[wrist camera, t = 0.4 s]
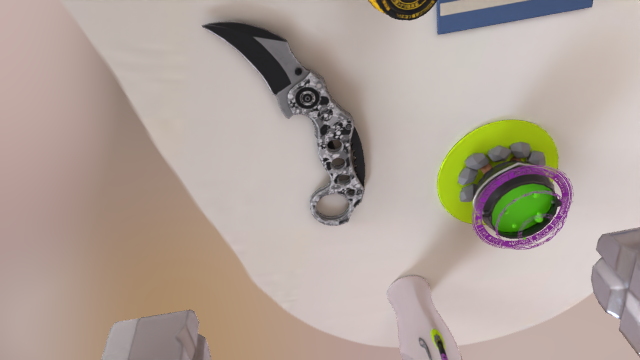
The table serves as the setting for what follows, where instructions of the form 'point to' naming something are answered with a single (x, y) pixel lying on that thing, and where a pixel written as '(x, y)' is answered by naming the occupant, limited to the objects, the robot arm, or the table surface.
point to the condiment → (403, 8)
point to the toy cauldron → (505, 182)
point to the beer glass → (420, 322)
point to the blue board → (497, 11)
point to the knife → (303, 108)
